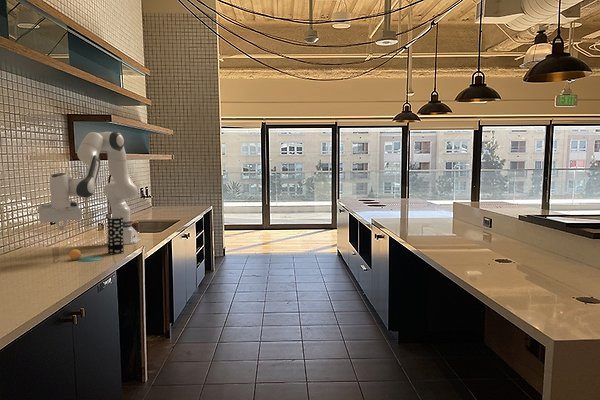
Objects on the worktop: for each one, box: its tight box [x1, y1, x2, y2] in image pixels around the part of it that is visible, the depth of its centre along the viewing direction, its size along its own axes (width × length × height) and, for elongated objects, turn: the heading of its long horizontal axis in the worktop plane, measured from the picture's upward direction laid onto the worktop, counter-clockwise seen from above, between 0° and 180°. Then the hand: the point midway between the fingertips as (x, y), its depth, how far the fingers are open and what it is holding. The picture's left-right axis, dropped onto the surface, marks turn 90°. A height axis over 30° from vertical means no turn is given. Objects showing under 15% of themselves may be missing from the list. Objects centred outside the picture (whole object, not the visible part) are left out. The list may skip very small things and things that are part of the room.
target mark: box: [76, 255, 104, 263], centre depth 236 cm, size 13×13×1 cm
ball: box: [69, 249, 82, 261], centre depth 233 cm, size 6×6×6 cm
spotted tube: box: [106, 216, 125, 255], centre depth 252 cm, size 8×8×20 cm
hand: (61, 229), depth 236 cm, fingers closed
